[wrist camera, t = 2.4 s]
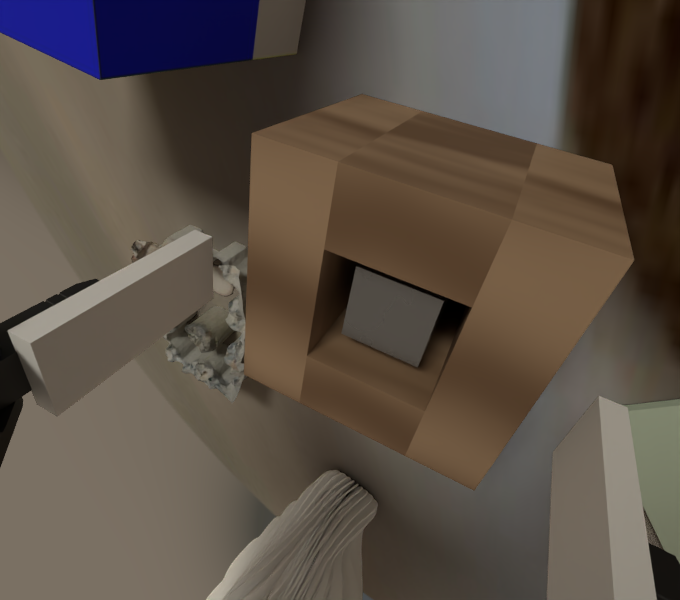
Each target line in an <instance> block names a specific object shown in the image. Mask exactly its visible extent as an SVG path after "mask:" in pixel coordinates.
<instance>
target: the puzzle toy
mask: <svg viewBox="0 0 680 600" xmlns="http://www.w3.org/2000/svg"><path fill="white" fill-rule="evenodd" d="M305 2H306V0H0V32H1V33H3V34H5V35H7V36H9V37H11V38H13V39H15V40H17V41H19V42H22V43H24V44H26V45H28V46H30V47H32V48H34V49H36V50H38V51H41V52H43V53H45V54H47V55H49V56H51V57H53V58H55V59H57V60H59V61H62V62H64V63H66V64H68V65H70V66H72V67H74V68H76V69H78V70H81V71H83V72H85V73H87V74H89V75H91V76H93V77H95V78H97V79H99V80H104V79H112V78H119V77H127V76H134V75H142V74H150V73H157V72H165V71H173V70H180V69H188V68H195V67H203V66H211V65H218V64H226V63H233V62H241V61H249V60H256V59H264V58H272V57H279V56H287V55H294V54H297V49H298V43H299V37H300V31H301V26H302V20H303V14H304V8H305Z"/></svg>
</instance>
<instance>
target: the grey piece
mask: <svg viewBox="0 0 680 600" xmlns="http://www.w3.org/2000/svg"><path fill="white" fill-rule="evenodd" d="M193 230H197V231H200V232H202V233H203V231H202V230H201V229H200V228H197V227H194V226H192V225H189V226H187V227H185V228H183V229H182V230H180V231H178V232H176V233H174V234H173V235H171V236H170V237H168V238H166V239H165V241H164V243H163V244H162V245H160V246H159V245H158V244H157V243H153V242H144V241H140V240H137V241H135V242H134V243H133V246H132V247H131V250H132V252H133V254H134V255H133V256H132V263H134V262H136V261H138V260H139V259H141V258H143V257H145V256H147V255H149V254H151V253H152V252H154V251H156V250H158V249H160V248H162V247H164V246H165V245H167V244H169V243H171V242H173V241H175V240H177V239H178V238H180V237H182V236H184V235H186V234H188V233H190V232H191V231H193ZM217 259H219V260H220V261H221V263H220V265H219V266H217V265H214V266H213V290H214V291H215V292H216V293H218V294H220V295H223V296H228V295H230V294H231V293H232V292H233V290H234V287H235V288H236V289H237V290H238V292H239V295H238V296H237V297H236V298H234V299H233V300H232V301H230V302H229V312H228V311H227V310H225V309H224V308H222V307H219V306H214V307H212V308H211V309H209V310H208V311H207V312H205V313H204V314H203V315H201V316H200V317H199V318H198V319H196V320H195V321H194V322H192V323H191V324H189V325H187V321H189V320H190V319H191V318H192V317H194V316H195V315H196V313H197V311H196V312H194V313H193V314H192V315H190V316H189V317H188V318H186V319H185V320H184V321H183V322H181V323H180V324H179V325H177V326H176V327H175V328H173V329H172V330H171V331H169V332H168V333H167V334H165V335H164V336H163V337H164V339H165V340H167V341H168V342H169V346H168V347H167V348H166V355H167V356H168V361H170V362H174V361H179V362H181V363H182V364H183V365H184V367H183V369H182V372H183V373H192V374H193V375H194V376H195V378H196V379H198V381H202V382H205V383H206V385H207V386H208V387H209V389H215V388H217V389H218V390H219V391H220V392H222V393H223V394H224V395H225V396H226V398H227V399H228V400H229V401H230V402H231V403H233V402H234V401H235V399H236V397H237V395H238V393H239V390H240V387H241V383H242V381H243V380H245V379H246V378H247V377H248V376H246V375H244V353H245V323H246V292H247V261H248V248H247V247H246V246H244V245H242V244H240V243H238V242H233V243H231V244H230V245H229V246H227V247H226V248H224V249H222V250H221V251H217V250H215V249H214V248H213V262H214V261H215V260H217ZM234 331H239V332H241V333H242V335H241V336H240V337H239V338H238V339H237V340H236V341H235V342H233V343H232V344H230V345H229V346H227V345H226V344H224V343H222V342H224V341H225V340H226V339H227V338H228V337H229V336H230V335H231V334H232V333H233V332H234Z"/></svg>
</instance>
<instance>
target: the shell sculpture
mask: <svg viewBox="0 0 680 600" xmlns="http://www.w3.org/2000/svg"><path fill="white" fill-rule="evenodd" d="M354 482H355V481H354V480H352V481H351V478H350V477H347V476H346V475H345V474H344V473H341V472H340V471H338V470H329V471H327V472H325V473H324V474H322V475H321V476H320V477H319V478H318V479H317V480H316V481H315V482H313V483H312V484H311V485H310V486H309V487H307V488H306V489H305V490H304V492H303V493H302V494H301V496H300V497H299V499H298V500H297V501H293V502H291V503H290V504H289V505H288V506H287V507H286V509H285V510H284V512H283V513H282V514H281V516H278V517H275V518H274V519H273V520H272V521H271V522H270V523H269V525H268V526H267V528H266V529H265V530H264V531H263V533H262V534H261V535H260V537H258V538H255V539H254V540H253V541H252V542H250V543H249V544H248V545H247V546H246V547H245V549H244V550H243V551H242V552H241V553H240V554H239V555H238V556H237V558H236V559H235V560H234V561H233V563H232V564H231V565H230V567H229V569H228V570H227V572H226V575H225V577H224V579H223V580H222V581H221V582H220V584H219V585H218V586H217V587H216V588H215V589H214V590H213V591H212V592H211V594H210V595H209V596H208V598H207V599H206V600H362V594H363V580H362V554H361V550H362V535H363V530H364V528H365V527H366V526H367V524H368V523H369V522H370V521H371V520H372V519H373V518H374V517H375V515H376V512H377V507H378V503H377V501H376V500H375V499H373V496H372V495H371V494H369V493H368V491H367V490H365V489H363V487H362V486H359V487H357V486H358V485H359V484H355V485H354V486H353V487H352V488H351V489H350V490H348V489H349V488H350V487H351V486H352V485H353V484H354ZM352 489H353V490H352ZM347 490H348V491H347ZM351 490H352V491H351ZM346 491H347V492H346ZM350 491H351V492H350ZM345 492H346V493H345ZM349 492H350V493H349ZM348 493H349V495H348V496H347V497H346V495H347V494H348ZM343 498H344V499H343ZM341 507H342V508H341ZM319 549H320V550H319ZM318 551H319V552H318ZM317 553H318V554H317ZM316 555H317V557H316ZM315 557H316V559H315ZM314 559H315V561H314ZM313 562H314V563H313ZM312 564H313V565H312ZM311 566H312V567H311ZM272 572H273V573H272ZM270 575H271V576H270ZM269 576H270V577H269ZM271 591H272V592H271ZM270 593H271V594H270ZM269 595H270V596H269ZM268 597H269V598H268Z"/></svg>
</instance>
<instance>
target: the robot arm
mask: <svg viewBox="0 0 680 600" xmlns="http://www.w3.org/2000/svg"><path fill="white" fill-rule="evenodd" d="M212 299H213V242H212V236H209V235H207V234H204V233H202V232H200V231H197V230H193V231H191V232H190V233H188V234H186V235H184V236H182V237H180V238H178V239H177V240H175V241H173V242H171V243H169V244H167V245H165V246H164V247H162V248H160V249H158V250H156V251H154V252H152V253H151V254H149V255H147V256H145V257H143V258H141V259H139V260H138V261H136V262H134V263H132V264H130V265H128V266H126V267H125V268H123V269H121V270H119V271H117V272H115V273H113V274H112V275H110V276H108V277H106V278H104V279H102V280H100V281H99V280H97V279H93V280H89V281H85V282H82V283H78V284H75V285H73V286H71V287H69V288H67V289H66V290H64V291H62V292H60V294H59V295H57V294H56V295H54V296H52V297H51V298H48V299H47V300H46V302H44V301H43V302H41V303H39V304H37V305H35V306H33V307H31V308H29V309H27V310H25V311H23V312H21V313H19V314H17V315H15V316H14V317H12V318H10V319H8V320H6V321H4V322H2V323H0V467H1V464H2V461H3V459H4V456H5V453H6V451H7V448H8V445H9V442H10V440H11V437H12V434H13V431H14V429H15V426H16V423H17V420H18V417H19V415H20V412H21V410H22V406H23V399H22V396H23V395H25V394H26V393H28V392H29V391H32V393H33V396H34V398H35V401H36V403H37V405H39V406H41V407H42V408H44V409H46V410H47V411H49V412H50V413H52V414H54V415H55V416H58V415H60V414H61V413H62V412H64V411H65V410H66V409H68V408H69V407H70V406H72V405H73V404H74V403H75V402H77V401H78V400H80V399H81V398H82V397H84V396H85V395H86V394H88V393H89V392H90V391H91V390H93V389H94V388H95V387H97V386H98V385H99V384H101V383H102V382H103V381H105V380H106V379H107V378H109V377H110V376H111V375H113V374H114V373H115V372H117V371H118V370H119V369H121V368H122V367H123V366H124V365H126V364H127V363H128V362H130V361H131V360H132V359H134V358H135V357H136V356H138V355H139V354H140V353H142V352H143V351H144V350H146V349H147V348H148V347H150V346H151V345H152V344H154V343H155V342H156V341H157V340H159V339H160V338H161V337H163V336H164V335H165V334H167V333H168V332H169V331H171V330H172V329H173V328H175V327H176V326H177V325H179V324H180V323H181V322H183V321H184V320H185V319H186V318H188V317H189V316H190V315H192V314H193V313H194V312H196V311H197V310H198V309H200V308H201V307H202V306H204V305H205V304H206V303H208V302H209V301H210V300H212ZM547 600H680V563H679V562H678V560H677V558H676V556H675V555H673V554H671V553H668V552H666V551H664V550H662V549H660V548H658V547H656V546H654V545H652V544H650V543H648V538H647V531H646V525H645V518H644V512H643V505H642V498H641V492H640V485H639V479H638V472H637V465H636V459H635V452H634V446H633V439H632V432H631V426H630V419H629V413H628V408H627V407H625V406H623V405H620V404H618V403H615V402H613V401H610V400H608V399H606V398H603V397H601V396H598V397H597V398H596V400H595V401H594V402H593V403H592V404H591V406H590V407H589V408H588V409H587V411H586V412H585V413H584V414H583V416H582V417H581V418H580V419H579V421H578V422H577V423H576V424H575V425H574V427H573V428H572V429H571V430H570V432H569V433H568V434H567V435H566V437H565V438H564V439H563V440H562V442H561V443H560V444H559V445H558V446H557V448H556V449H555V450H554V451H553V459H552V483H551V507H550V532H549V556H548V580H547Z"/></svg>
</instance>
